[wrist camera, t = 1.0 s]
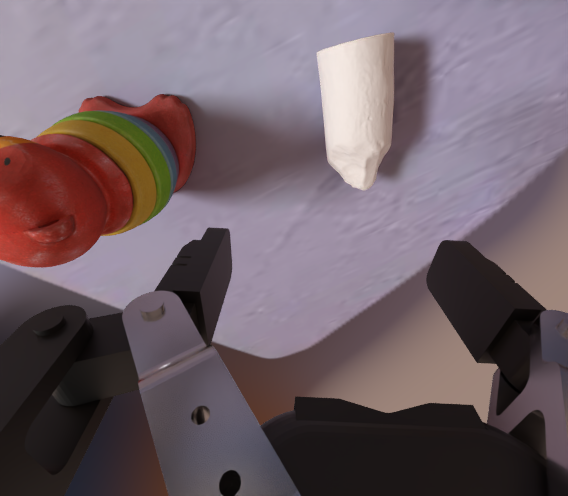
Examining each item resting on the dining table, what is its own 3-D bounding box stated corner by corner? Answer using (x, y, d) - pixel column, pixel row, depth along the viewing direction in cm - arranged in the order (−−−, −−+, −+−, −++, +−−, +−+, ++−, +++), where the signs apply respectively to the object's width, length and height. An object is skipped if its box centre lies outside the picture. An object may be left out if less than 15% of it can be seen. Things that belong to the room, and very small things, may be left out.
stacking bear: (188, 93, 25) (37, 115, 10) (208, 195, 31) (128, 307, 16) (76, 96, 26) (-229, 122, 10) (115, 196, 31) (-50, 308, 16)
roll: (327, 184, 30) (334, 204, 25) (313, 54, 23) (319, 48, 19) (382, 174, 29) (400, 193, 24) (383, 37, 23) (407, 26, 18)
